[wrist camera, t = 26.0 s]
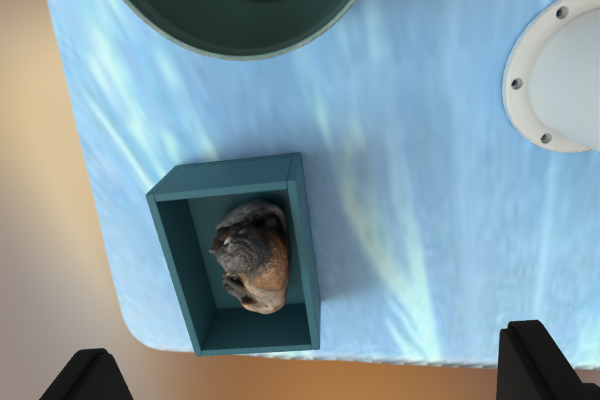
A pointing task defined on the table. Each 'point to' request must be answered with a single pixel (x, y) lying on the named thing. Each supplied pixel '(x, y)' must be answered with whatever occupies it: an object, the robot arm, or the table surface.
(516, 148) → the table surface
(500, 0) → the table surface
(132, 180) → the table surface
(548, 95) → the robot arm
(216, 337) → the bin
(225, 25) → the flower pot
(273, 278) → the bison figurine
